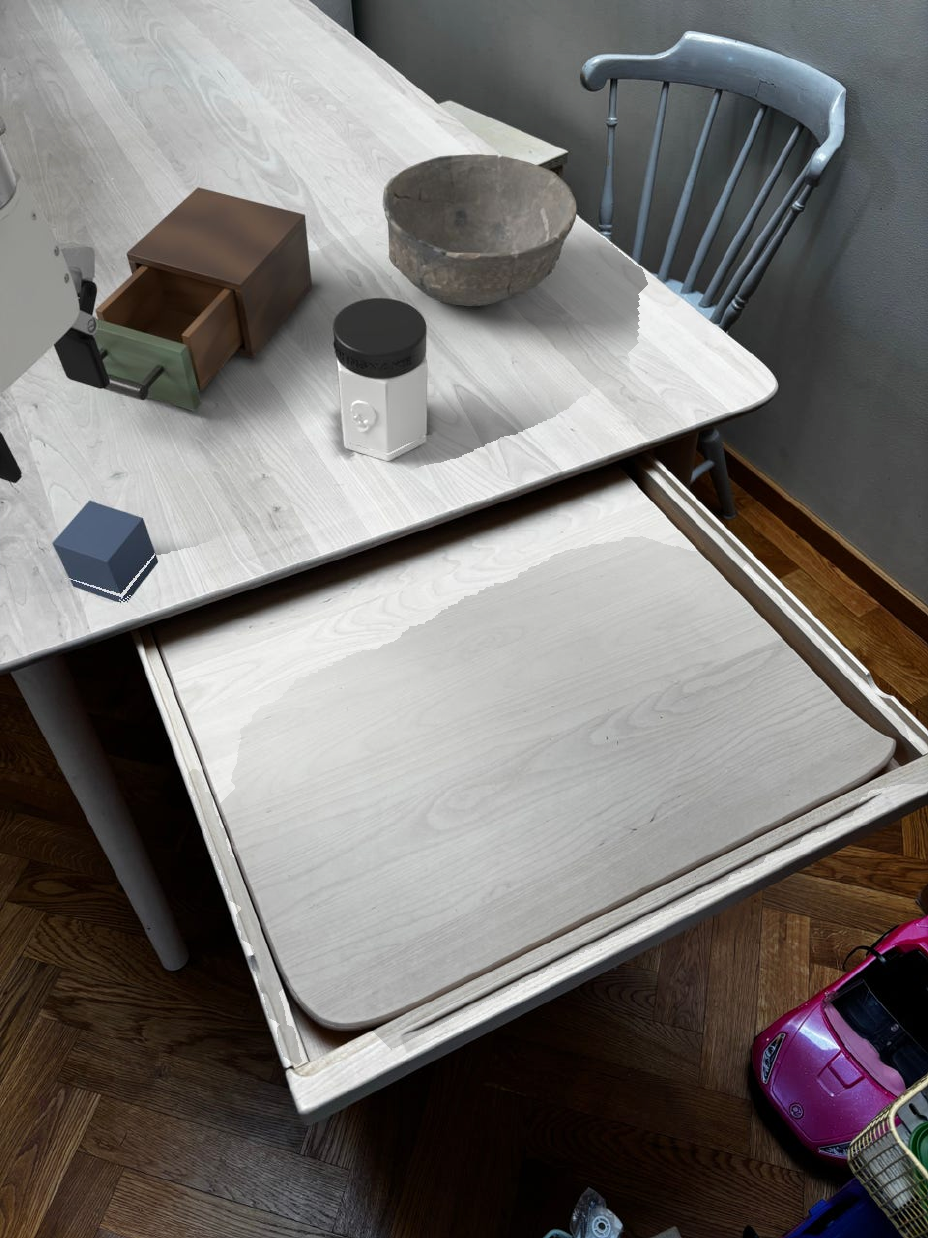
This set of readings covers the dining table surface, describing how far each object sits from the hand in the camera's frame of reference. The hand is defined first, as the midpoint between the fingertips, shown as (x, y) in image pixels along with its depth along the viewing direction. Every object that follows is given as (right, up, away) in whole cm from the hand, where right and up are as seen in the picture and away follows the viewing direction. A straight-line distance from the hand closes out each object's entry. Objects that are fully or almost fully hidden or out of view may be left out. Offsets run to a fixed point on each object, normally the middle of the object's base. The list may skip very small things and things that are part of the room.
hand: (46, 426), depth 61 cm
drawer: (-2, +12, +30) cm, 32 cm away
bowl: (+29, +25, +43) cm, 57 cm away
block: (-1, -9, +15) cm, 18 cm away
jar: (+20, +5, +28) cm, 34 cm away
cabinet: (+3, +21, +38) cm, 43 cm away
